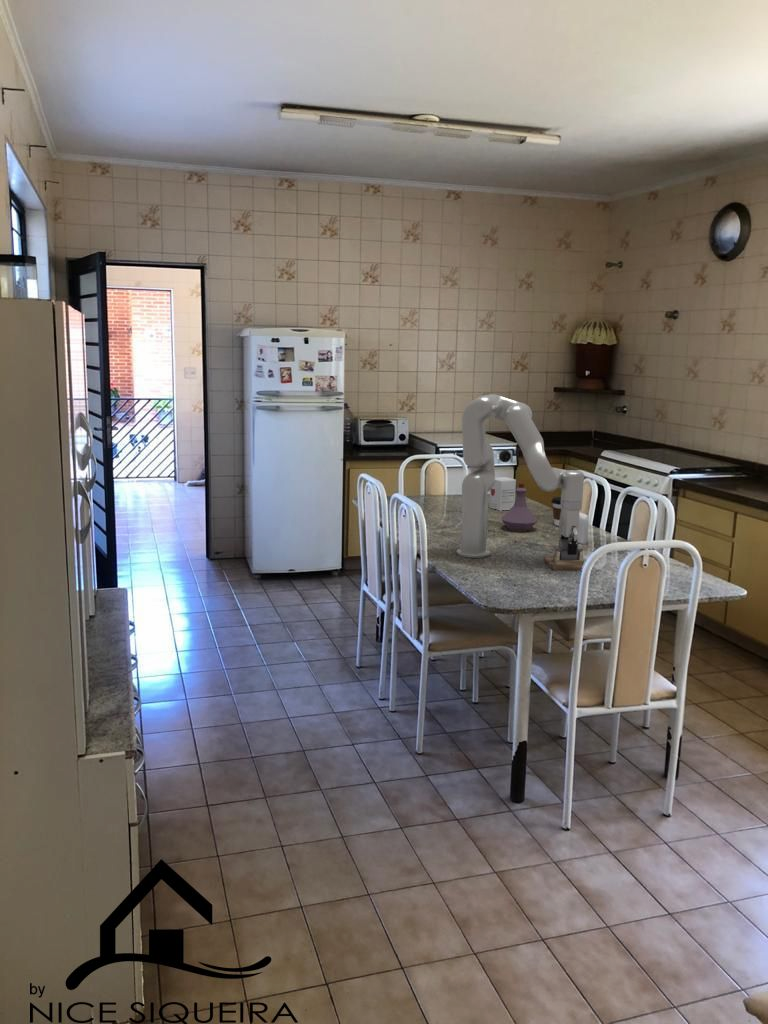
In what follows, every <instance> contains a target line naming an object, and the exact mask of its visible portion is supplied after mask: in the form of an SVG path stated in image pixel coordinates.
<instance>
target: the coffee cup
mask: <svg viewBox="0 0 768 1024" xmlns="http://www.w3.org/2000/svg"><path fill="white" fill-rule="evenodd" d="M550 503H552V514H553V521H554V526H556V525H558V526H559V522H560V514H561V508H560V506H561V496H556V497H555V496H554V497H553V498H552V499H551V501H550ZM558 526H557V527H558Z"/></svg>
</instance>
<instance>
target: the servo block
mask: <svg viewBox="0 0 768 1024" xmlns="http://www.w3.org/2000/svg"><path fill="white" fill-rule="evenodd" d="M571 540H572V538H571ZM577 542H578V541H577ZM568 544H569V539H560V538H559V539H558V545H554V546H553V548H554V549H555V550H556V551H559V552H560V560H577V555H578V551H582V552H583V551H584V548H582V546H580V545H579V543H577V554H576V555H568V554H567V551H568Z"/></svg>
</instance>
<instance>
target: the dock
mask: <svg viewBox="0 0 768 1024" xmlns="http://www.w3.org/2000/svg"><path fill="white" fill-rule="evenodd" d="M552 550H553V551H552V556H543V562H545V564H546V565H547V566H548V567H549V566H550V567H551V568H552V569H553V570H552V569H551V568H550V567H549V568H550V569H551V570H552V571H577V570H580V571H581V569H582V566H583V563H584V561H585V560H584V558H583V557H584V552H583V551H578V555H577V560H560V552H559V551H556V550H555V549H554V547H553V549H552Z"/></svg>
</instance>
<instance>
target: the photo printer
mask: <svg viewBox="0 0 768 1024" xmlns="http://www.w3.org/2000/svg"><path fill="white" fill-rule="evenodd" d="M579 516H580V517H579V535H578V538H577V539H578V540H577V541H578V544H582V545H586V544H587V542H588V534H589V522H590V520H589V515H587V514H585V513H582V512H580V511H579Z"/></svg>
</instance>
